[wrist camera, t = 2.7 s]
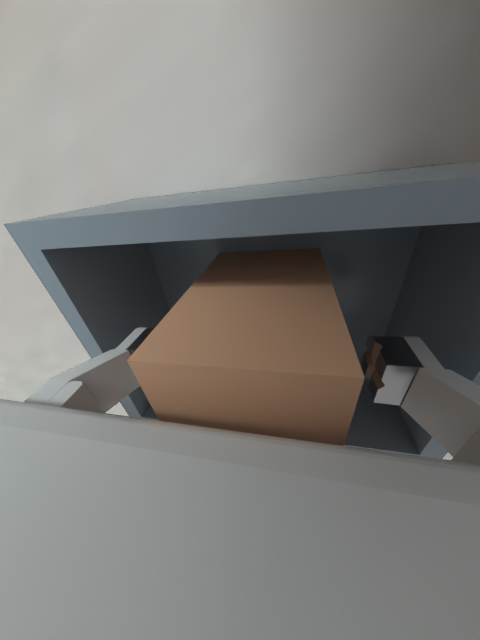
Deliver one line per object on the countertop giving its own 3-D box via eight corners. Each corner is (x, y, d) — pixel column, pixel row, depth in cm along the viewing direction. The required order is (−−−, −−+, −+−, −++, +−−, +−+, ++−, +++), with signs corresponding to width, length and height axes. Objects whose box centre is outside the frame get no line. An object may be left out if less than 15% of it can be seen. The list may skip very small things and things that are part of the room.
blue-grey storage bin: (131, 199, 12) (3, 223, 7) (451, 163, 9) (698, 155, 3) (181, 347, 18) (134, 423, 12) (382, 358, 14) (435, 467, 9)
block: (219, 252, 11) (126, 360, 5) (319, 248, 10) (364, 377, 4) (231, 329, 14) (181, 462, 8) (311, 331, 13) (330, 488, 7)
